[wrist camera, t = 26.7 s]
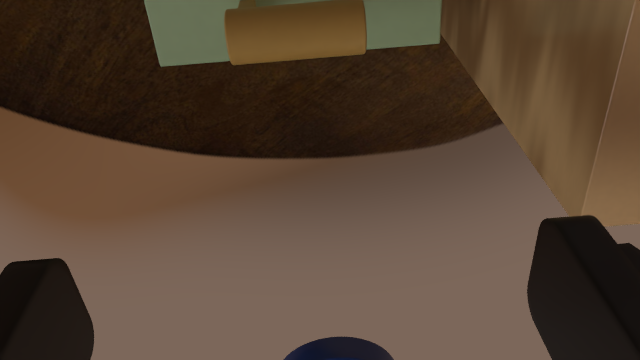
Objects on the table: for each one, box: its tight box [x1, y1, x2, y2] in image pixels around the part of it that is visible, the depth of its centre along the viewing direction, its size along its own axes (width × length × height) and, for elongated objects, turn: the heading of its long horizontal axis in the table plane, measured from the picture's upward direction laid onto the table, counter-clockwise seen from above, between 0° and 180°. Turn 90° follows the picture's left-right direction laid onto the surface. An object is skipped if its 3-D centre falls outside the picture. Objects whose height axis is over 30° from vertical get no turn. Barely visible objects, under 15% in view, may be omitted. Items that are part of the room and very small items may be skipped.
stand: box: [440, 0, 640, 227], centre depth 23 cm, size 8×8×20 cm
